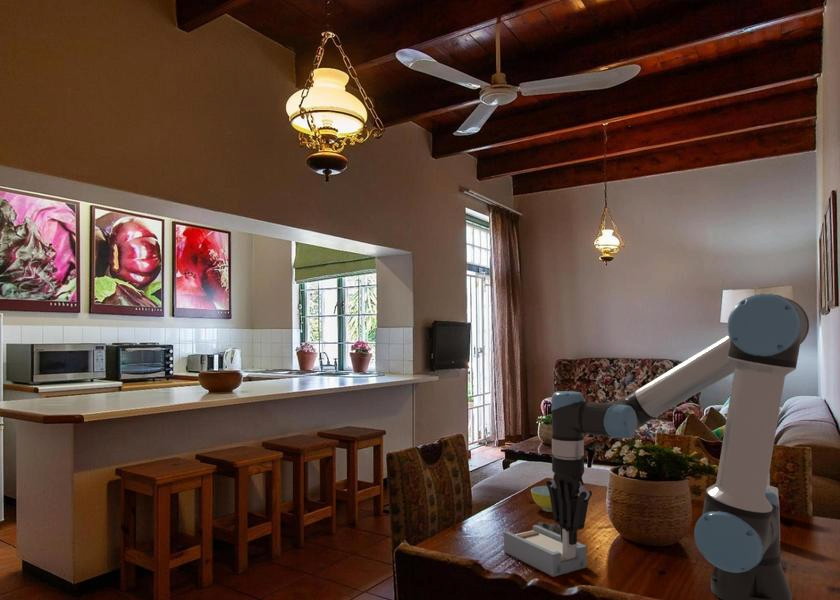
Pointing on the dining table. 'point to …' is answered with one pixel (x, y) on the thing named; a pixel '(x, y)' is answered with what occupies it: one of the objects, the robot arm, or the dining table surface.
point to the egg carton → (550, 527)
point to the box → (544, 553)
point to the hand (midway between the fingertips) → (569, 556)
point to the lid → (544, 542)
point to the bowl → (542, 497)
